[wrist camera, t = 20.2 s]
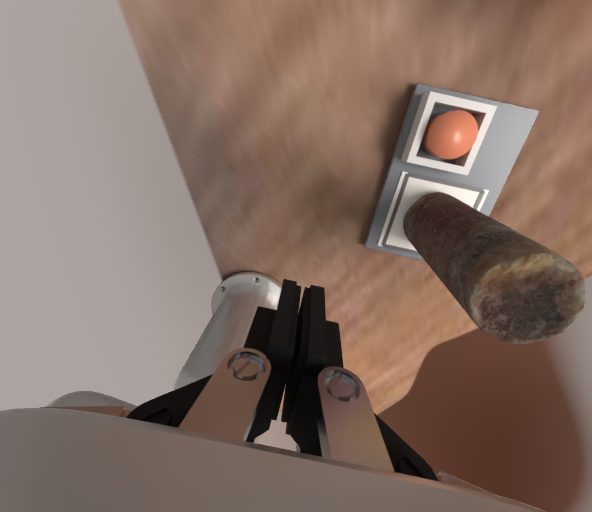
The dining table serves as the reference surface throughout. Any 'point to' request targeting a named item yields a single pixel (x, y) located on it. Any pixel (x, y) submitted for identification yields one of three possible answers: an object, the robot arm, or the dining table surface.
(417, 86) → the grey piece
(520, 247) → the brown cylinder
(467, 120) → the button
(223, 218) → the dining table surface
